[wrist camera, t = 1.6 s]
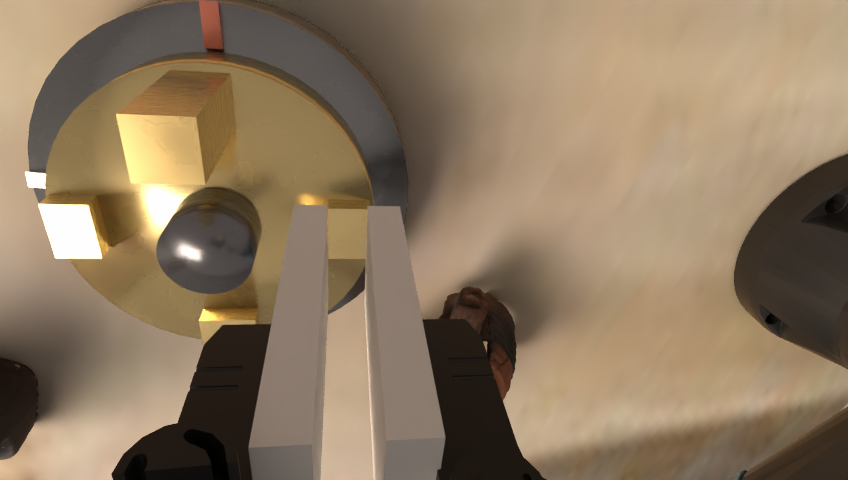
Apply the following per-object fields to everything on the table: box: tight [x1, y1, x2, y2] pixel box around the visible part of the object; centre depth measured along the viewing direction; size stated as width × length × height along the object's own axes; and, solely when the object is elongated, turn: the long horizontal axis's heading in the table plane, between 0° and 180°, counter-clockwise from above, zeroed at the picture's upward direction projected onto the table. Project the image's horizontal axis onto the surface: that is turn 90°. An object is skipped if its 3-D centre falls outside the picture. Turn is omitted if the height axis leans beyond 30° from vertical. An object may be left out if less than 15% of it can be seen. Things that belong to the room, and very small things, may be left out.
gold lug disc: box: [38, 52, 374, 347], centre depth 24 cm, size 15×15×9 cm
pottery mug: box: [439, 287, 516, 400], centre depth 36 cm, size 12×10×8 cm
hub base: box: [25, 0, 408, 314], centre depth 27 cm, size 19×19×9 cm
